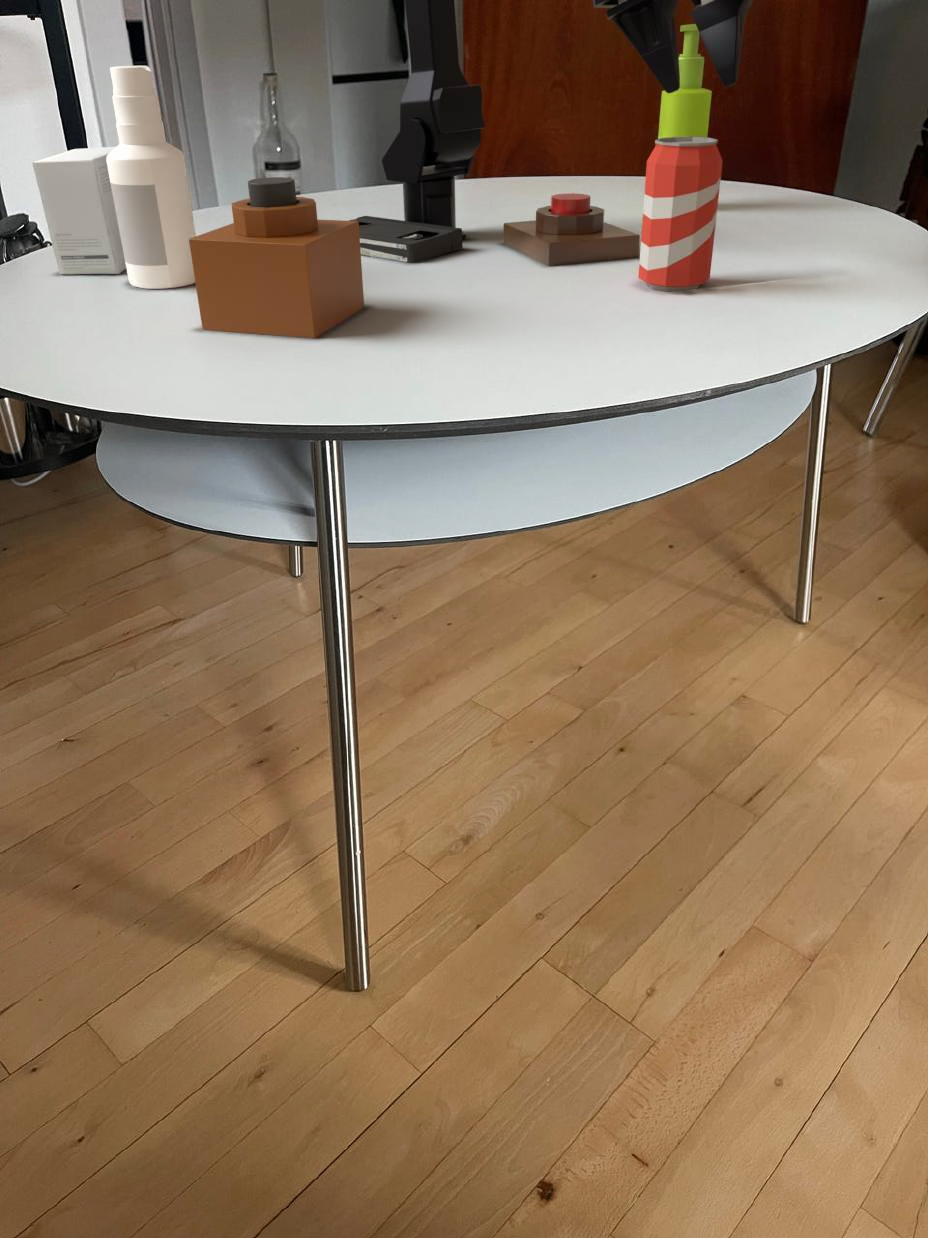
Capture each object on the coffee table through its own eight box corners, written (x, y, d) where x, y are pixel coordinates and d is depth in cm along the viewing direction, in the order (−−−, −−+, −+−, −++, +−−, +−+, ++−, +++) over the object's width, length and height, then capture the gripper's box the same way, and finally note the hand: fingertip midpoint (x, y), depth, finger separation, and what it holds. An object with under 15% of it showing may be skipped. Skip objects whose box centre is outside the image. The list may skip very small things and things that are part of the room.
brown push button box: (260, 300, 88) (247, 190, 83) (364, 307, 85) (357, 194, 80) (202, 329, 80) (183, 210, 75) (314, 338, 77) (303, 215, 72)
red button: (544, 212, 103) (545, 194, 102) (579, 210, 104) (580, 192, 103) (560, 219, 100) (561, 200, 99) (596, 216, 101) (597, 197, 100)
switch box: (503, 244, 107) (503, 204, 105) (586, 236, 110) (588, 198, 108) (548, 266, 98) (549, 223, 96) (638, 257, 100) (641, 215, 98)
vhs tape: (316, 248, 108) (313, 229, 107) (366, 233, 113) (365, 215, 112) (412, 264, 100) (411, 243, 99) (462, 248, 105) (461, 228, 104)
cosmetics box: (94, 253, 107) (72, 145, 101) (153, 252, 106) (134, 145, 101) (55, 275, 98) (28, 158, 92) (118, 274, 97) (96, 158, 92)
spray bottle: (137, 274, 97) (98, 65, 88) (207, 272, 98) (176, 63, 88) (122, 291, 92) (79, 69, 82) (197, 288, 92) (163, 67, 83)
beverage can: (624, 283, 91) (633, 139, 85) (677, 274, 94) (690, 134, 87) (668, 297, 86) (681, 145, 80) (722, 287, 89) (740, 140, 83)
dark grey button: (264, 203, 80) (261, 176, 79) (304, 205, 79) (302, 177, 78) (242, 211, 77) (239, 182, 76) (284, 213, 76) (281, 184, 75)
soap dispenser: (708, 212, 122) (728, 23, 112) (651, 211, 123) (666, 24, 113) (708, 204, 127) (727, 22, 117) (653, 203, 128) (667, 23, 118)
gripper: (691, -192, 67) (731, 58, 72) (816, -165, 79) (843, 49, 84) (566, -112, 75) (609, 108, 80) (696, -98, 87) (727, 93, 92)
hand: (703, 88), depth 84 cm, fingers open, 9 cm apart
